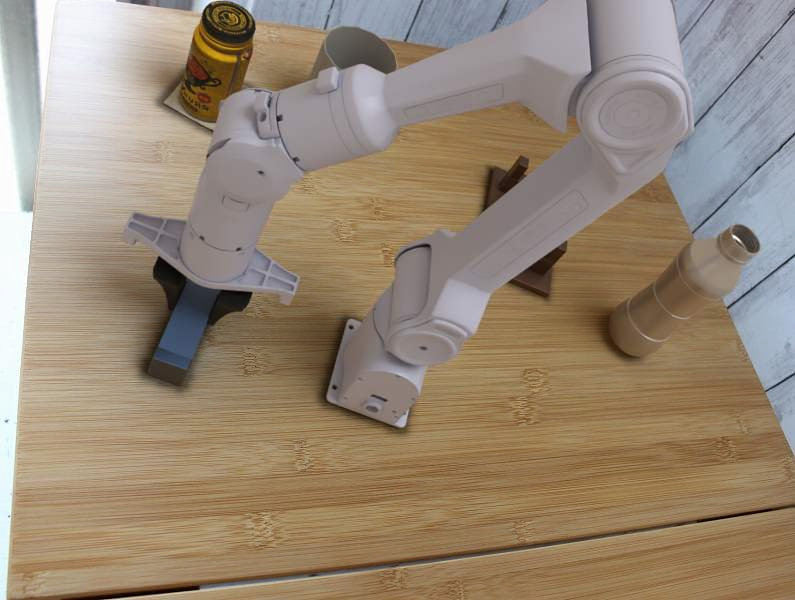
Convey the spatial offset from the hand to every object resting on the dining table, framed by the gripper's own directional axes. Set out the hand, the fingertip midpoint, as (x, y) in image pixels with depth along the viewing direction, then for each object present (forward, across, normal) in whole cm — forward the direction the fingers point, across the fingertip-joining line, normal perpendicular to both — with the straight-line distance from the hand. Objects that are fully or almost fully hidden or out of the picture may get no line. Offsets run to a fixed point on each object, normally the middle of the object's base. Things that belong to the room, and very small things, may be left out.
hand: (194, 309), depth 75 cm
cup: (+2, -6, -32) cm, 33 cm away
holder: (+2, -31, -27) cm, 41 cm away
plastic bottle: (+2, -46, -18) cm, 49 cm away
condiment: (+2, +7, -27) cm, 28 cm away
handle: (+1, 0, 0) cm, 1 cm away
